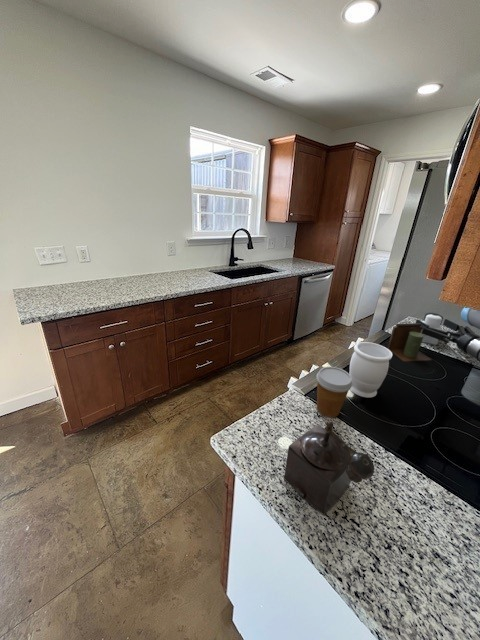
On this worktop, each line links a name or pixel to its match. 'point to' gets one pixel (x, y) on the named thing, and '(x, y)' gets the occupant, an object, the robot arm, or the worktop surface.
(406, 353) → the spice tin
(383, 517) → the worktop surface
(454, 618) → the worktop surface
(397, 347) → the spice rack
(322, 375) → the disposable coffee cup
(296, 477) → the brown coffee grinder
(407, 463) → the worktop surface
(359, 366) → the jar
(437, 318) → the container
